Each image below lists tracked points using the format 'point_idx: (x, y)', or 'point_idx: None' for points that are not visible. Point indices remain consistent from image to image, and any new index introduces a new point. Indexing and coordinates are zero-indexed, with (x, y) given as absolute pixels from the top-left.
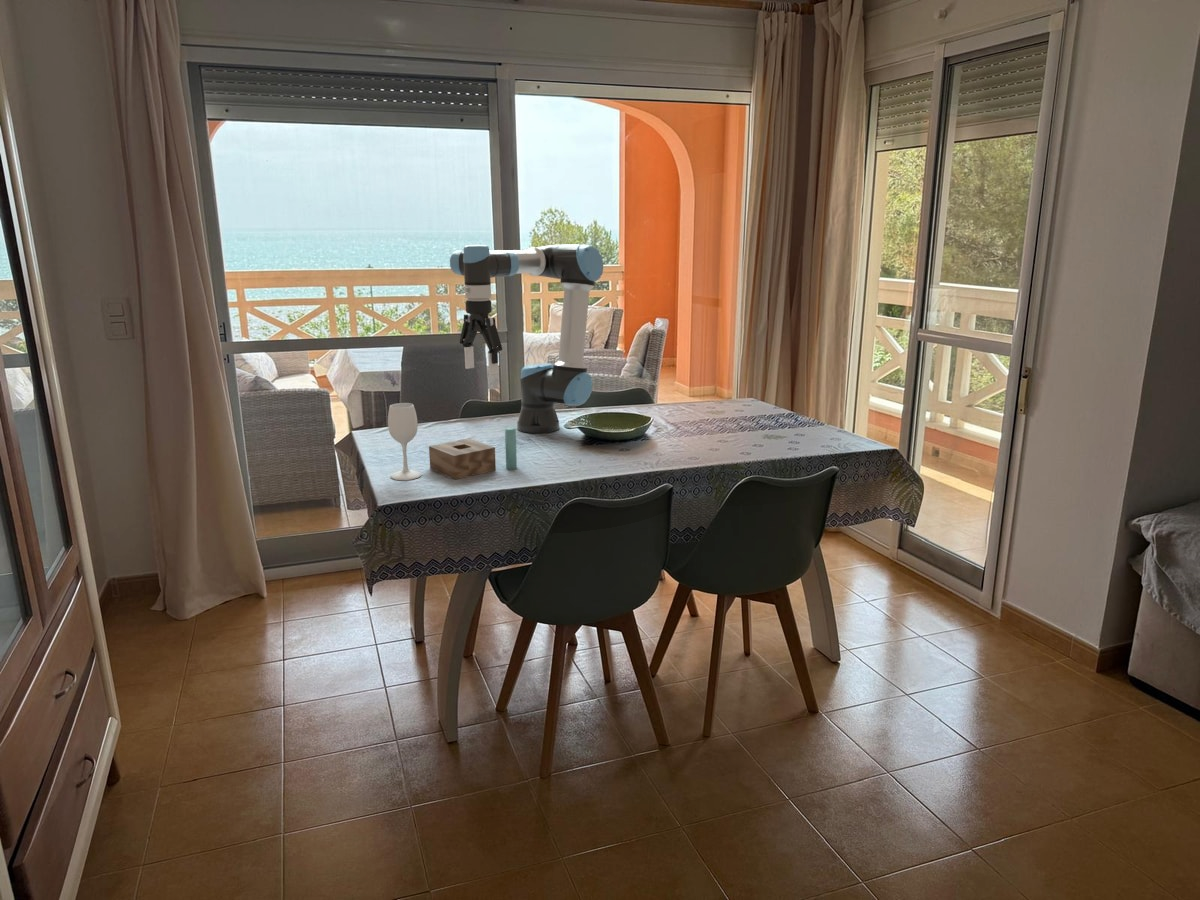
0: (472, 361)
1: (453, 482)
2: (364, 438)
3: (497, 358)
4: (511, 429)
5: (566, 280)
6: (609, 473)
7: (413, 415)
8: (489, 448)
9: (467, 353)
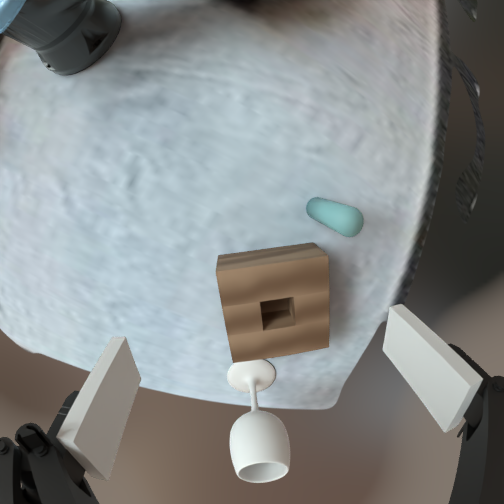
0: (115, 371)
1: None
2: (24, 338)
3: (470, 361)
4: (355, 222)
5: None
6: (426, 97)
7: (286, 448)
8: (328, 269)
9: (112, 439)
